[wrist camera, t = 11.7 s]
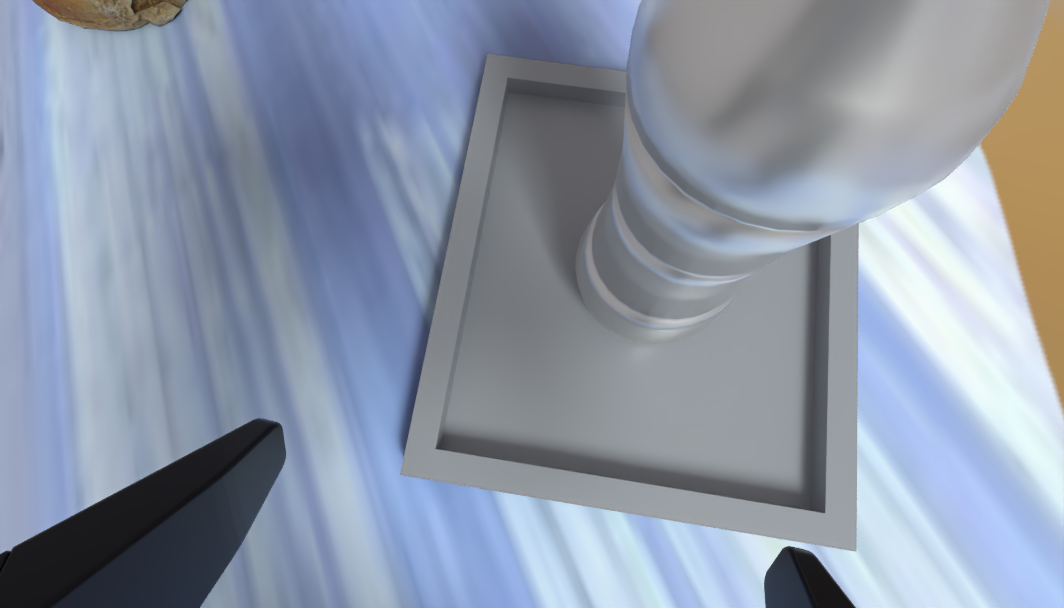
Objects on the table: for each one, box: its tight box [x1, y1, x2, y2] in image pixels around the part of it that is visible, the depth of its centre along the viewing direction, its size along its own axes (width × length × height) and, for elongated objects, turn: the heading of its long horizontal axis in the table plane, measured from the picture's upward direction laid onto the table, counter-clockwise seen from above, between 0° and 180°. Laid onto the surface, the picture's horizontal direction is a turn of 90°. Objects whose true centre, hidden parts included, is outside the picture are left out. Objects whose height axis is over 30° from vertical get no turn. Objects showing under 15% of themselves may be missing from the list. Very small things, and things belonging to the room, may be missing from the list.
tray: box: [400, 54, 859, 551], centre depth 23 cm, size 20×18×2 cm
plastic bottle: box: [575, 0, 1050, 343], centre depth 14 cm, size 6×7×20 cm
